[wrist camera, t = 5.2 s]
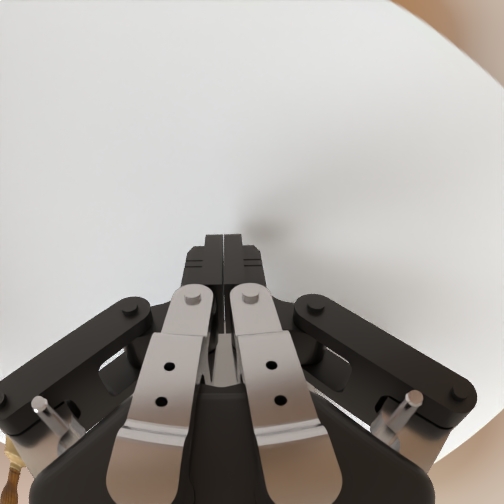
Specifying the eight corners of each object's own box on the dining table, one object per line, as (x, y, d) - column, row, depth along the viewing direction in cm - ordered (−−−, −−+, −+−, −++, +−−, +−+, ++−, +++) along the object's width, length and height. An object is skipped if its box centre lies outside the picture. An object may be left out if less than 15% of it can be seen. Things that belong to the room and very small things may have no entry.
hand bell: (45, 432, 28) (24, 530, 14) (53, 449, 31) (37, 533, 18) (-4, 408, 26) (-32, 499, 12) (9, 429, 29) (-12, 508, 16)
